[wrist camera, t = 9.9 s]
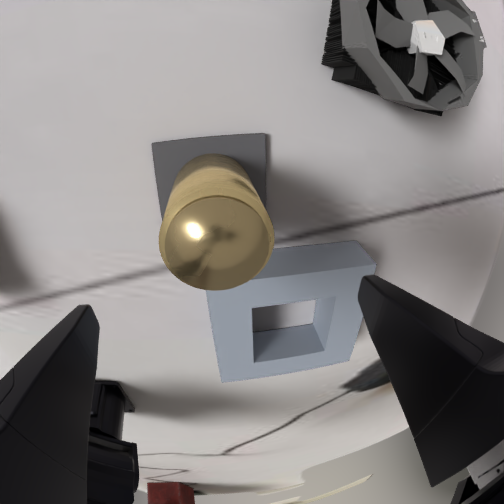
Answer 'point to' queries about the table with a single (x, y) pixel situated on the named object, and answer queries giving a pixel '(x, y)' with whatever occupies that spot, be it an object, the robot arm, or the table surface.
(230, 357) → the housing
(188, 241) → the gold metal cylinder
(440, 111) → the cpu cooler
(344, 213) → the table surface
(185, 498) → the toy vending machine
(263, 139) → the pad
